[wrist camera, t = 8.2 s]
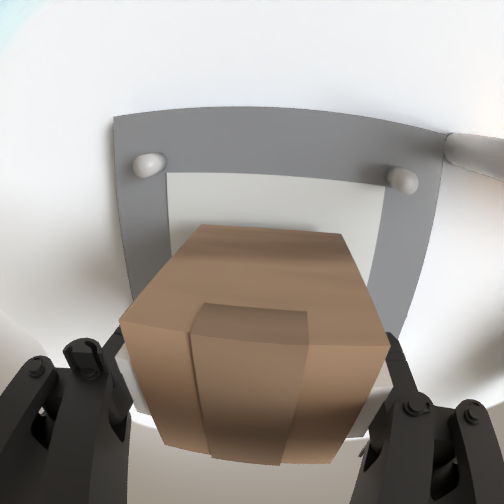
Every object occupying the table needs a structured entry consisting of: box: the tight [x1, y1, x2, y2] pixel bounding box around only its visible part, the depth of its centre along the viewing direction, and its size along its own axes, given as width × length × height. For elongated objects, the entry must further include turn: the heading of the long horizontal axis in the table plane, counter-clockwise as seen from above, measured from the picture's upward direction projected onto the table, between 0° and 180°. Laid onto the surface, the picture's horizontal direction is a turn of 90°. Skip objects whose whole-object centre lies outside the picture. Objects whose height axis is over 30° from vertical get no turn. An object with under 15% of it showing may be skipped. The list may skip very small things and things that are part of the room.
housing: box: [114, 107, 504, 339], centre depth 12 cm, size 16×18×7 cm
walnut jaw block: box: [119, 224, 391, 466], centre depth 10 cm, size 6×6×7 cm
